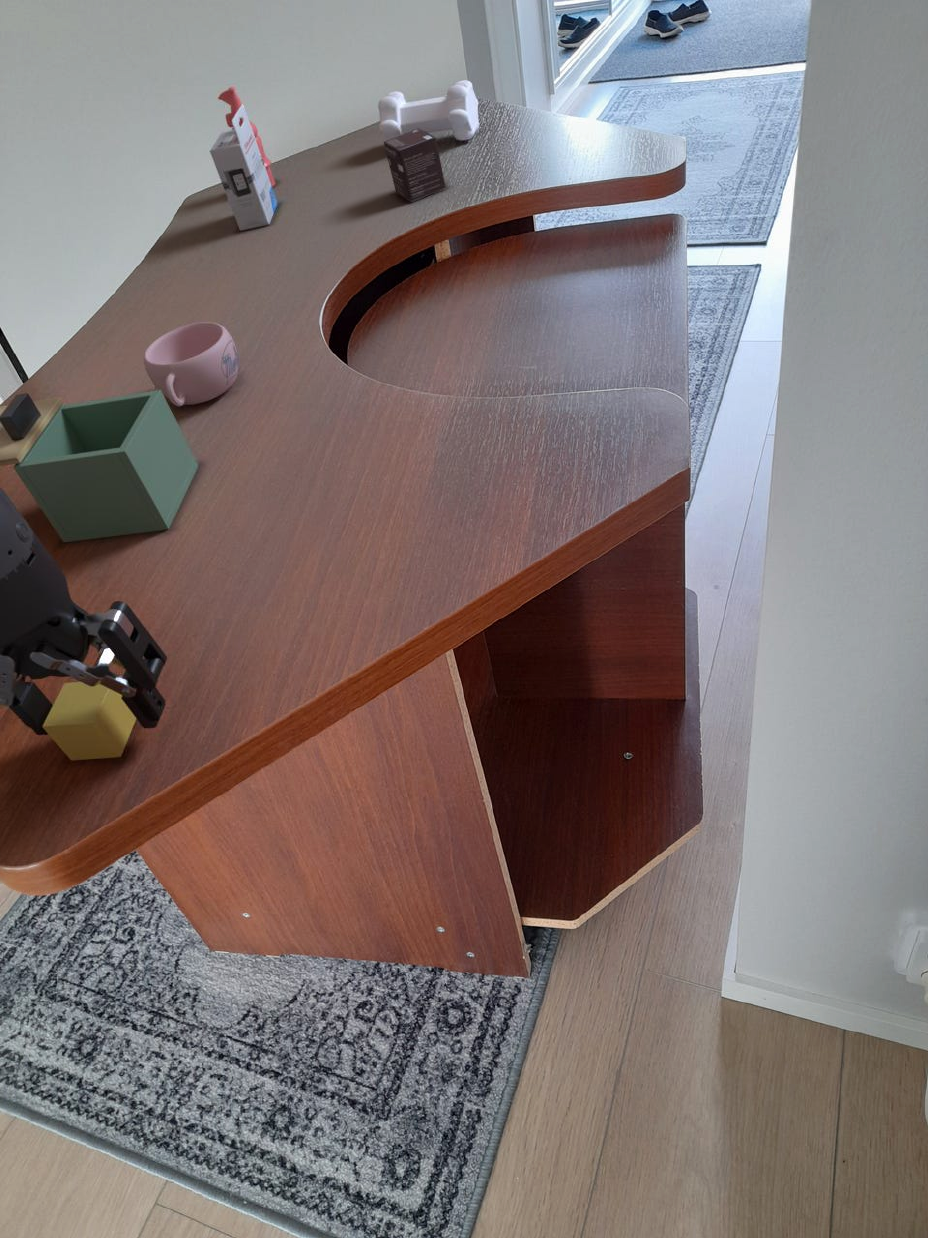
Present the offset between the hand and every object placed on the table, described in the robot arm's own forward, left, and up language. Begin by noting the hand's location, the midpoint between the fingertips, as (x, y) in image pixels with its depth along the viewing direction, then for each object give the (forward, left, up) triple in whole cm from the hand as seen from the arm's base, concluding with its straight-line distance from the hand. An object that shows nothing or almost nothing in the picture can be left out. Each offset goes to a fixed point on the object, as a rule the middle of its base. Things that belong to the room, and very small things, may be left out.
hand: (102, 722), depth 65 cm
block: (0, 0, -2) cm, 2 cm away
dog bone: (+94, +76, -2) cm, 121 cm away
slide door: (+7, +34, +8) cm, 36 cm away
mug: (+29, +39, -2) cm, 49 cm away
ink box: (+62, +81, -2) cm, 102 cm away
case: (+14, +27, -2) cm, 31 cm away
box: (+79, +61, -2) cm, 100 cm away
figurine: (+70, +93, -2) cm, 117 cm away
